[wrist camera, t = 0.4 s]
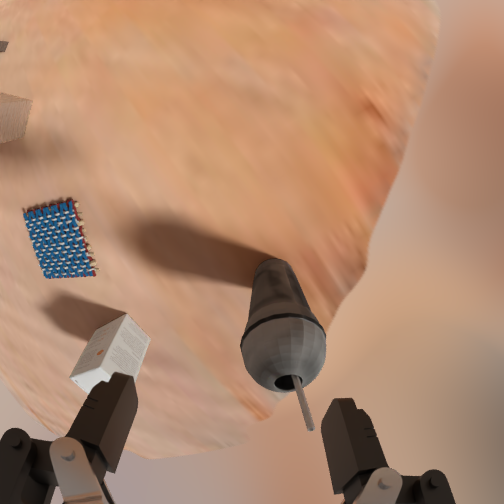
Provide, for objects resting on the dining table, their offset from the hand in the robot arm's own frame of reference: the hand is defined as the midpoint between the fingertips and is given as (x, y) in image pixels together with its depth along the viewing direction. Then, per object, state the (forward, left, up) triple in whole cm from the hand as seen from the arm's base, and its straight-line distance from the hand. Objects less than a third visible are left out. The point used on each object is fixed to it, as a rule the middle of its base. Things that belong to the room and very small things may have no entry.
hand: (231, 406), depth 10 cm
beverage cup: (+5, +6, -22) cm, 24 cm away
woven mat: (+13, -21, -23) cm, 33 cm away
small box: (+24, -9, -22) cm, 34 cm away
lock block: (-1, -35, -22) cm, 41 cm away
